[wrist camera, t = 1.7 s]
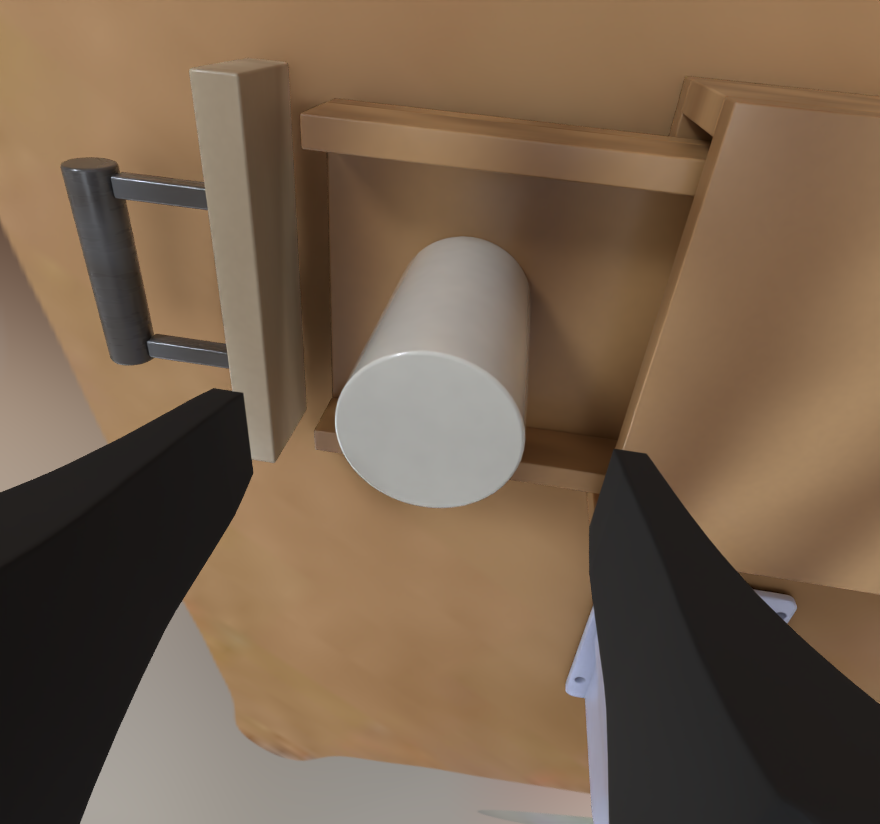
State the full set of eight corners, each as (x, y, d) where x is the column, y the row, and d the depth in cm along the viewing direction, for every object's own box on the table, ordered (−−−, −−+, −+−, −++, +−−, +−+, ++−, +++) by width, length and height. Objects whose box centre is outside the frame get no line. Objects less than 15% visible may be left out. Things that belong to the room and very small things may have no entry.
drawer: (163, 387, 23) (112, 438, 20) (89, 40, 17) (1, 46, 14) (636, 459, 22) (650, 523, 19) (756, 113, 15) (801, 136, 13)
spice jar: (520, 367, 19) (509, 522, 13) (396, 349, 19) (335, 494, 14) (542, 244, 17) (541, 368, 11) (402, 227, 17) (331, 338, 11)
